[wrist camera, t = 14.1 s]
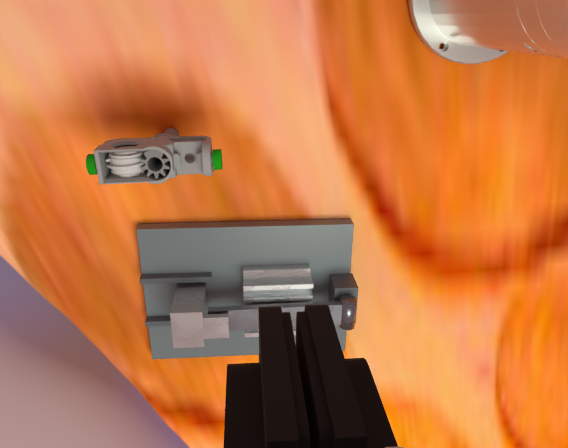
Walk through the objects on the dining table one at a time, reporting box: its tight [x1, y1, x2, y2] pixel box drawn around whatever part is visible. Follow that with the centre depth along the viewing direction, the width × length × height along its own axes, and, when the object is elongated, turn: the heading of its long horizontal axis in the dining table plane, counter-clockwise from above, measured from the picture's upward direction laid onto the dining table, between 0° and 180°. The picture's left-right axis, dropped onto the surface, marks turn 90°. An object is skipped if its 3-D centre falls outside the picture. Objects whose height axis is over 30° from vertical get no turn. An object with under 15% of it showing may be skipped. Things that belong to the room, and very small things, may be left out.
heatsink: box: [243, 264, 313, 337], centre depth 51 cm, size 7×7×3 cm
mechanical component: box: [86, 128, 222, 184], centre depth 42 cm, size 3×10×10 cm, turn 91°
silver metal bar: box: [208, 295, 356, 331], centre depth 48 cm, size 15×3×2 cm, turn 90°
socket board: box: [136, 219, 358, 359], centre depth 51 cm, size 22×16×4 cm
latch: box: [170, 282, 229, 348], centre depth 49 cm, size 5×4×6 cm
